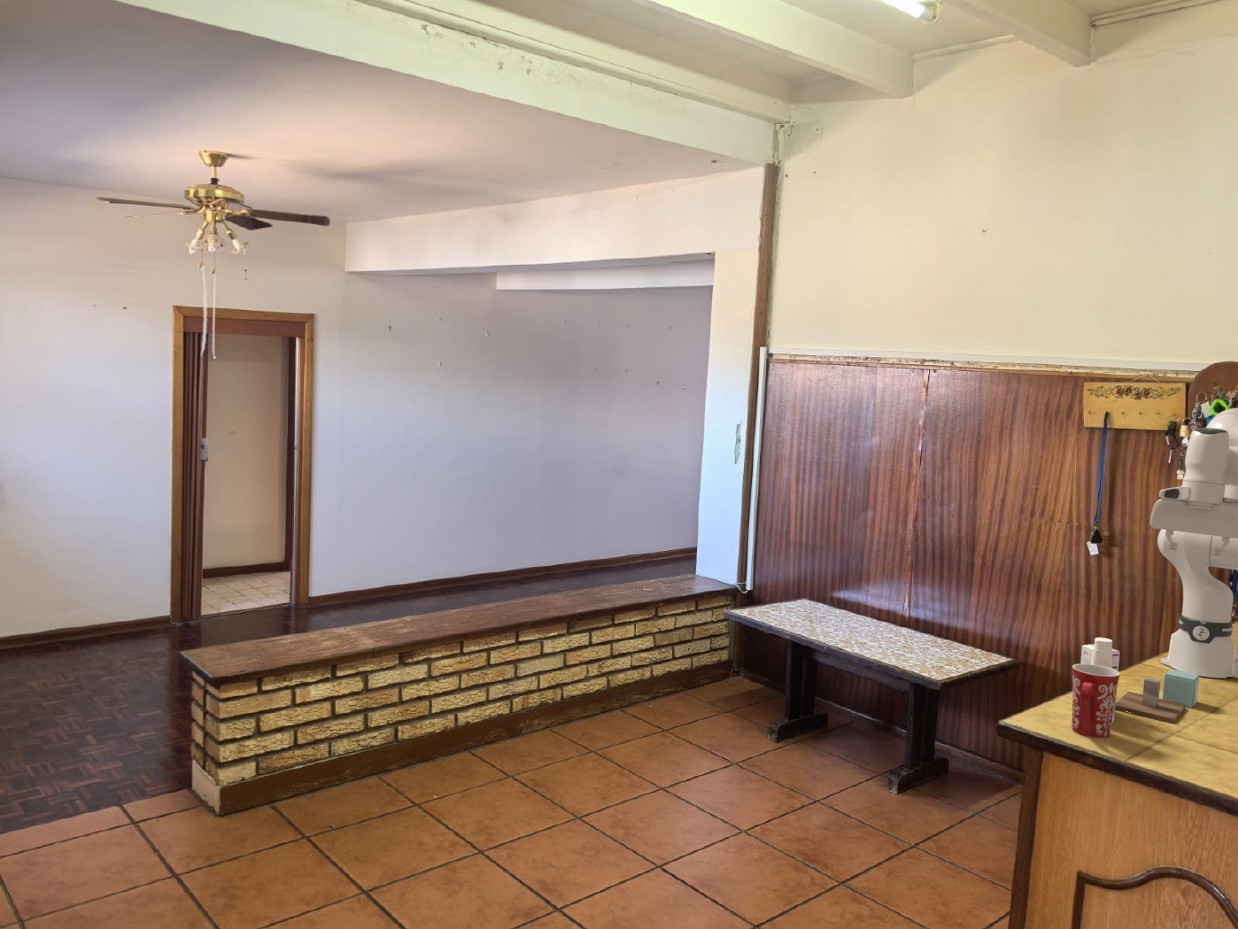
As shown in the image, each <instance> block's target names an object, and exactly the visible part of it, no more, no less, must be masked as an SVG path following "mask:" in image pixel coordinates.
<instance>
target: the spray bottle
mask: <svg viewBox="0 0 1238 929" xmlns="http://www.w3.org/2000/svg"><path fill="white" fill-rule="evenodd" d="M1093 644H1094V647H1093V652H1092V658H1091V664H1093V665H1099V666H1104V667H1108V668H1111V669H1113V668H1112V654H1113V651H1112V649H1113V640H1112V639H1111V638H1107V637H1106V638H1105V637H1095V638H1094V643H1093ZM1115 703H1117V697H1116V698H1115ZM1114 713H1116V710H1115V704H1114V710H1113V717H1112V723H1111V725H1112V724H1113V723H1114V720H1115V714H1114Z"/></svg>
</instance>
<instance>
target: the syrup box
mask: <svg viewBox="0 0 1238 929" xmlns="http://www.w3.org/2000/svg"><path fill="white" fill-rule="evenodd" d="M1094 644H1095V643H1093V644H1084V645H1083V644H1082V645H1081V654H1080V655H1081V656H1080V664H1091V658H1092V652H1093V647H1094ZM1112 651H1113V654H1112V668H1113V669H1114V670H1116V671H1118V672H1119V668H1120V667H1119V665H1120V654H1121V653H1120V651H1119V650H1117V649H1114V648H1112ZM1116 703H1117V702H1116ZM1116 703H1115V704H1116Z"/></svg>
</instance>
